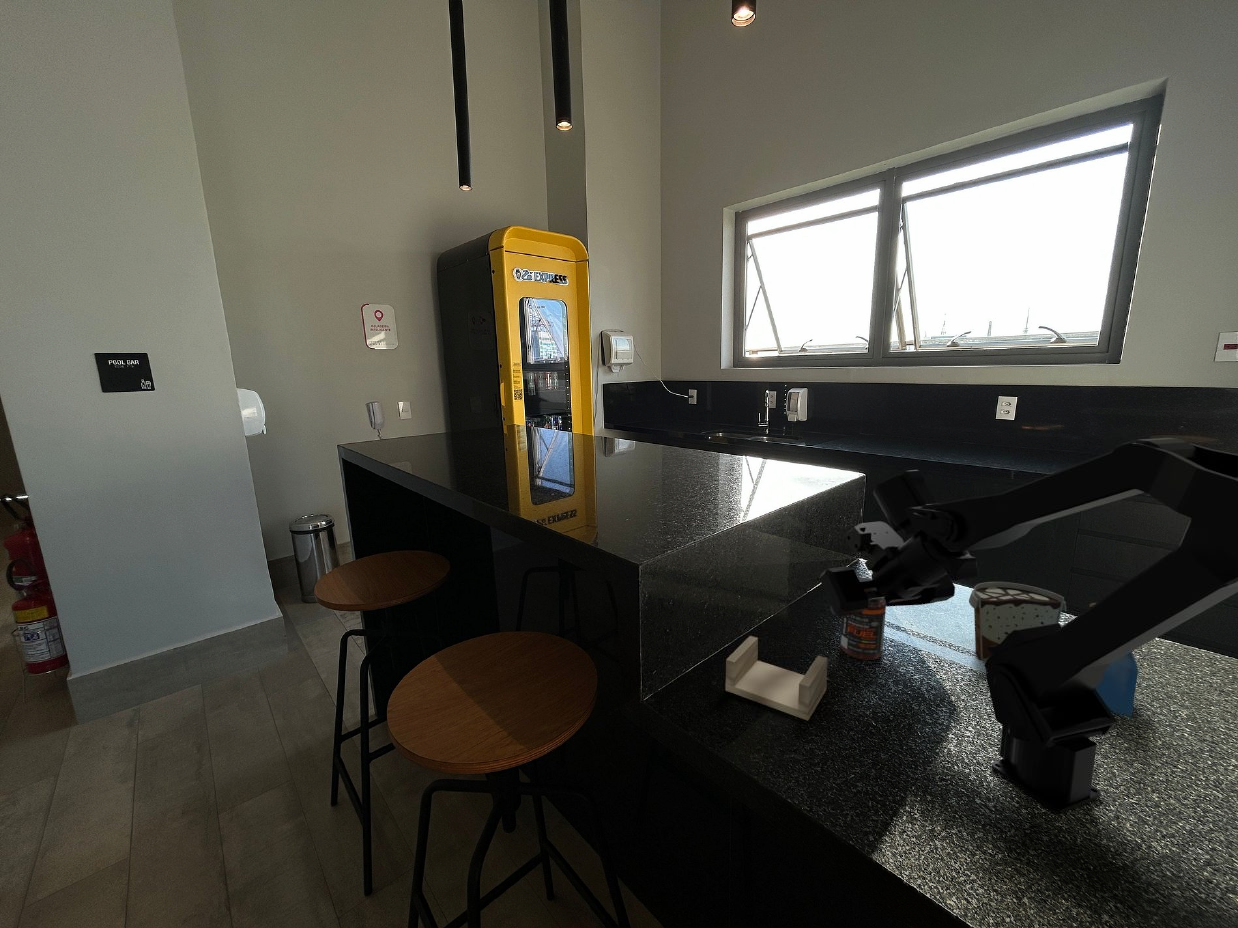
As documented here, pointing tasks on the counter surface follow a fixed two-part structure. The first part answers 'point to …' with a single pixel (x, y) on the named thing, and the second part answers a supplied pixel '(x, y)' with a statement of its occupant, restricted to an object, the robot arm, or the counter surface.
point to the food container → (1010, 611)
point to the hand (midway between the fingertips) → (856, 606)
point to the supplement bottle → (864, 630)
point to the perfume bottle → (1119, 684)
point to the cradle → (775, 681)
